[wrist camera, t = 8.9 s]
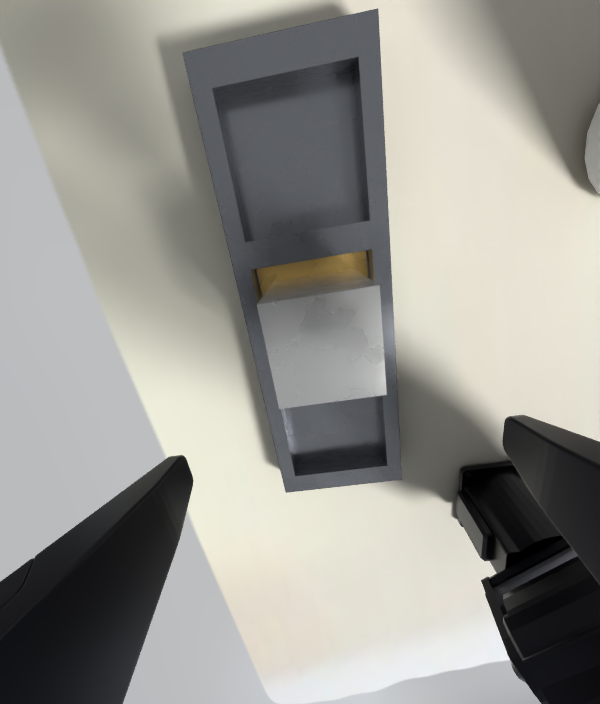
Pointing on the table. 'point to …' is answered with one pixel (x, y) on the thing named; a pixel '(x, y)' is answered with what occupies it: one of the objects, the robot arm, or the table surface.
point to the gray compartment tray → (306, 212)
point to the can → (593, 151)
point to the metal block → (324, 338)
